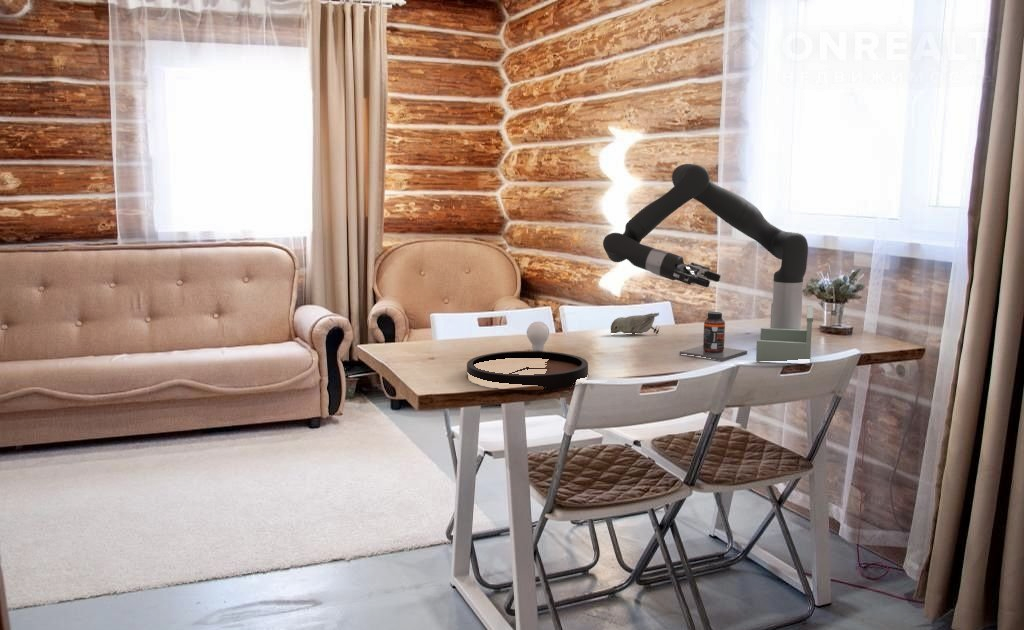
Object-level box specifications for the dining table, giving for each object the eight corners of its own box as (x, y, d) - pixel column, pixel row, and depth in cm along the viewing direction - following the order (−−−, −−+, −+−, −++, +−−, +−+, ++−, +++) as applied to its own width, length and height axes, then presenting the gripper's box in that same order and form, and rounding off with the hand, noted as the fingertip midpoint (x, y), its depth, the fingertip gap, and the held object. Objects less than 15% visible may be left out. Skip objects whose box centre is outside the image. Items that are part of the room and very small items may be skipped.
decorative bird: (609, 334, 284) (609, 312, 283) (656, 333, 285) (656, 311, 284) (612, 337, 278) (613, 315, 277) (660, 336, 280) (661, 314, 279)
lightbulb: (544, 356, 247) (543, 319, 245) (552, 361, 241) (552, 322, 239) (523, 358, 245) (523, 320, 243) (532, 363, 239) (531, 324, 237)
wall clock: (550, 346, 243) (611, 367, 215) (550, 360, 243) (611, 383, 215) (448, 357, 229) (499, 381, 201) (448, 372, 229) (499, 397, 202)
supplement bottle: (719, 353, 245) (720, 314, 243) (699, 351, 248) (700, 312, 247) (727, 350, 250) (728, 312, 248) (708, 348, 253) (709, 310, 251)
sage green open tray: (756, 362, 238) (757, 315, 236) (760, 347, 259) (762, 304, 257) (810, 365, 234) (813, 318, 232) (810, 350, 254) (812, 306, 252)
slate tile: (679, 354, 249) (679, 351, 249) (704, 347, 259) (704, 344, 259) (723, 361, 239) (723, 357, 239) (747, 353, 249) (747, 350, 249)
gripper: (657, 256, 250) (708, 273, 243) (676, 248, 262) (726, 265, 254) (651, 280, 253) (702, 298, 245) (670, 271, 264) (719, 288, 257)
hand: (714, 281), depth 250 cm, fingers open, 8 cm apart
